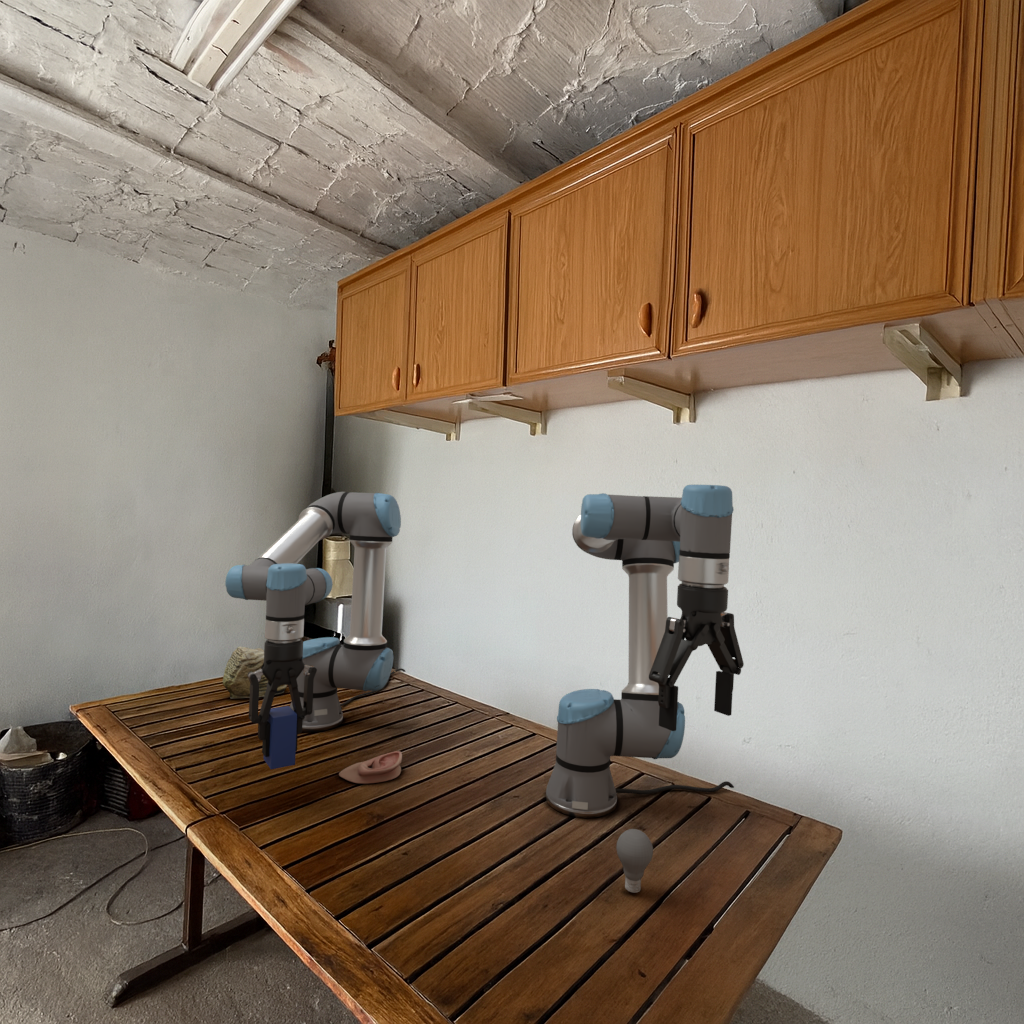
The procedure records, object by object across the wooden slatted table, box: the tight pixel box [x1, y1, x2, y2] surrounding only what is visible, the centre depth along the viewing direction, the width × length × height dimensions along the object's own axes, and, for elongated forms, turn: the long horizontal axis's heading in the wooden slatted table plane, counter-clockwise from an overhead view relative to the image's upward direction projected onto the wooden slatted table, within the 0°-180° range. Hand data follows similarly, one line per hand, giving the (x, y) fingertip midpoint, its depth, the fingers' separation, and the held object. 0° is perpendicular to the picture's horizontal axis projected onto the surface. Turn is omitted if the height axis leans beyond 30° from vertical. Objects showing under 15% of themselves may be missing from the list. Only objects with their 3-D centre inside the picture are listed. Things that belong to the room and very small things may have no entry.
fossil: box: [222, 646, 288, 699], centre depth 198 cm, size 9×18×15 cm, turn 132°
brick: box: [263, 705, 297, 770], centre depth 130 cm, size 5×6×10 cm
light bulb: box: [615, 828, 654, 894], centre depth 106 cm, size 6×6×10 cm
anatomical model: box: [338, 750, 403, 784], centre depth 146 cm, size 13×4×12 cm
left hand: (279, 751), depth 130 cm, fingers closed on brick, 5 cm apart
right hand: (696, 720), depth 99 cm, fingers open, 13 cm apart
